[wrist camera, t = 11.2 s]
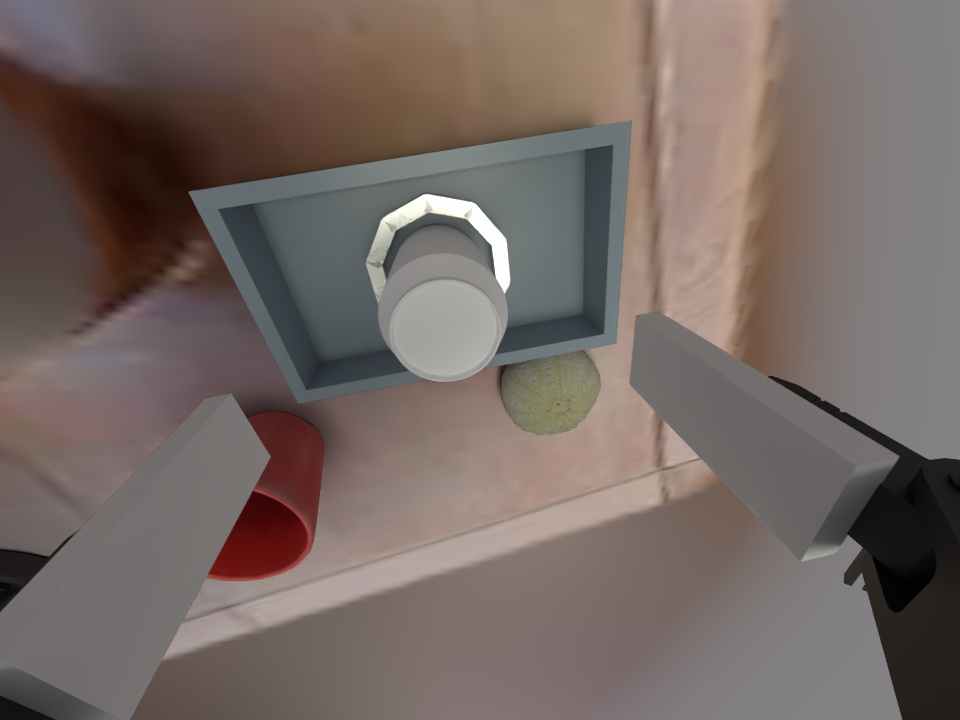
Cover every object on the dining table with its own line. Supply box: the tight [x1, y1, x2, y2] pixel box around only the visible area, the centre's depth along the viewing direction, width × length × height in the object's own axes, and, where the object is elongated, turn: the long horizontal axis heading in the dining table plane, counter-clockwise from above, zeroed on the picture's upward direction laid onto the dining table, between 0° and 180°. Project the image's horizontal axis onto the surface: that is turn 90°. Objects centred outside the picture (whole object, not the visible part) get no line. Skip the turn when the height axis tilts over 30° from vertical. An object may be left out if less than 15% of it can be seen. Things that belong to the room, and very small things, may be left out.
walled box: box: [189, 121, 632, 404], centre depth 24 cm, size 24×14×5 cm, turn 98°
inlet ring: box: [366, 192, 510, 305], centre depth 24 cm, size 10×10×2 cm
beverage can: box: [378, 225, 508, 382], centre depth 20 cm, size 6×6×12 cm
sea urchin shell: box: [501, 350, 601, 435], centre depth 31 cm, size 9×8×8 cm
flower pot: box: [206, 412, 324, 581], centre depth 28 cm, size 11×11×10 cm
